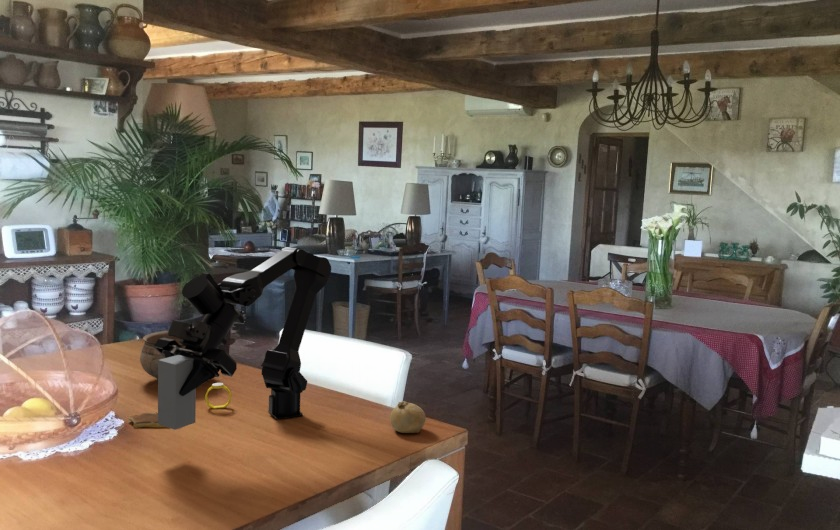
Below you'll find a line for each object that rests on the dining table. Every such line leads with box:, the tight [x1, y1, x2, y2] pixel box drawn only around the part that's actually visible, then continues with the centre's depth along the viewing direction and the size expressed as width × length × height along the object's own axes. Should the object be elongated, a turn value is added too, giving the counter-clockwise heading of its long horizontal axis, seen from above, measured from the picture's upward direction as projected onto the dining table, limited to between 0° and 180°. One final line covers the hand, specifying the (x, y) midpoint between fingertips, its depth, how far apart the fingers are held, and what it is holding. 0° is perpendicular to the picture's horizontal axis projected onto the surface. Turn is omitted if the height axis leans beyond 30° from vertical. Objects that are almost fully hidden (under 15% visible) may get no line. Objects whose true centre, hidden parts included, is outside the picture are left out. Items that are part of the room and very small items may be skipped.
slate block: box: [157, 355, 197, 431], centre depth 139 cm, size 5×5×13 cm
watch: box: [204, 382, 232, 410], centre depth 171 cm, size 6×3×6 cm, turn 101°
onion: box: [389, 400, 427, 435], centre depth 160 cm, size 8×8×7 cm
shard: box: [128, 411, 166, 429], centre depth 158 cm, size 11×8×2 cm
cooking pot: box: [139, 330, 185, 380], centre depth 191 cm, size 25×19×12 cm
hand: (171, 392), depth 138 cm, fingers closed on slate block, 5 cm apart
